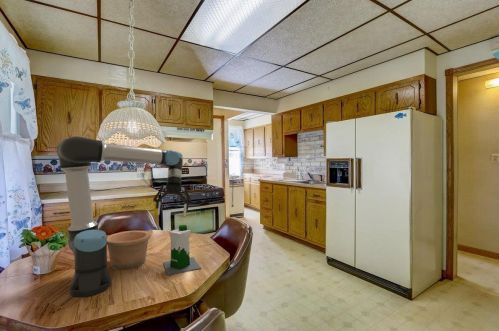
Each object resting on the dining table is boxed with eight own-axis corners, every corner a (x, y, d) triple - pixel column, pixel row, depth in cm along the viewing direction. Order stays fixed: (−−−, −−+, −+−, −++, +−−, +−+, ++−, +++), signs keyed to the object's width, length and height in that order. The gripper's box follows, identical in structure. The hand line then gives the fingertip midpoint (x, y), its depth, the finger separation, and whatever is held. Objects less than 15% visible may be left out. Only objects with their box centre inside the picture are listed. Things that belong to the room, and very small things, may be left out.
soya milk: (192, 264, 131) (192, 225, 131) (179, 270, 123) (179, 230, 123) (180, 261, 136) (180, 223, 135) (167, 267, 128) (166, 227, 127)
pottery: (117, 276, 119) (117, 245, 119) (97, 264, 132) (97, 237, 132) (158, 261, 136) (158, 235, 136) (137, 252, 150) (137, 228, 149)
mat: (167, 275, 120) (167, 274, 120) (163, 263, 134) (163, 262, 134) (200, 268, 127) (200, 267, 127) (193, 257, 141) (193, 257, 141)
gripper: (194, 182, 151) (193, 218, 142) (150, 177, 140) (145, 215, 132) (198, 178, 145) (196, 215, 136) (152, 172, 134) (147, 212, 126)
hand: (171, 215), depth 134 cm, fingers open, 13 cm apart
